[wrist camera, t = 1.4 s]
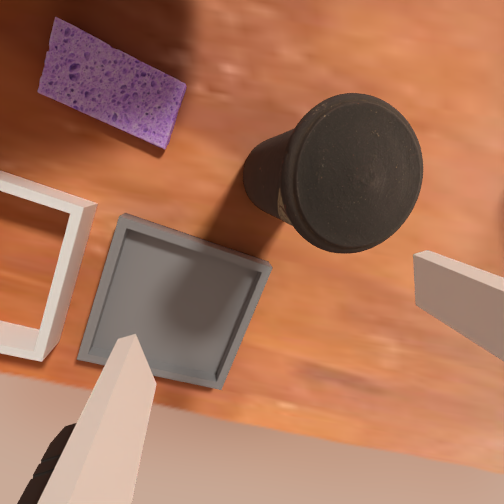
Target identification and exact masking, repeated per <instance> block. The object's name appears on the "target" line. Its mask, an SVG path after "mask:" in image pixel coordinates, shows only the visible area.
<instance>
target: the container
mask: <svg viewBox="0 0 504 504" xmlns="http://www.w3.org/2000/svg"><path fill="white" fill-rule="evenodd" d="M422 178H423V159H422V152H421V148H420V144H419V141H418V139H417V137H416V134H415V132H414V131H413V129H412V127H411V126H410V124H409V123H408V121H407V120H406V119H405V118H404V116H403V115H402V114H401V113H400V112H398V111H397V110H396V109H395V108H394V107H392V106H391V105H390V104H388V103H387V102H385V101H383V100H381V99H379V98H376V97H374V96H370V95H366V94H358V93H347V94H340V95H336V96H333V97H330V98H328V99H326V100H324V101H322V102H321V103H319V104H318V105H316V106H315V107H314V108H312V109H311V110H310V111H309V112H308V113H307V114H306V115H305V116H304V117H303V118H302V119H301V120H300V122H299V123H298V124H297V126H296V127H295V128H294V129H292V130H290V131H288V132H285V133H283V134H280V135H278V136H275V137H273V138H270V139H268V140H266V141H264V142H262V143H260V144H259V145H258V146H256V147H255V148H254V149H253V150H252V151H251V153H250V154H249V156H248V158H247V160H246V163H245V166H244V171H243V182H244V187H245V190H246V193H247V195H248V197H249V198H250V200H251V201H252V202H253V203H254V204H255V205H256V206H257V207H258V208H260V209H261V210H263V211H265V212H267V213H269V214H271V215H273V216H275V217H277V218H279V219H281V220H282V221H284V222H286V223H288V224H290V225H292V226H294V228H295V229H296V231H297V232H298V233H299V234H300V235H301V236H302V237H303V238H304V239H305V240H307V241H308V242H309V243H311V244H312V245H314V246H316V247H318V248H320V249H322V250H325V251H329V252H333V253H356V252H361V251H364V250H367V249H370V248H373V247H375V246H377V245H378V244H380V243H382V242H384V241H385V240H386V239H388V238H389V237H390V236H391V235H393V234H394V233H395V232H396V231H397V230H398V229H399V228H400V227H401V225H402V224H403V223H404V222H405V220H406V219H407V218H408V216H409V215H410V213H411V211H412V210H413V208H414V206H415V203H416V201H417V199H418V196H419V193H420V189H421V185H422Z"/></svg>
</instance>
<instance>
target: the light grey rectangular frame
mask: <svg viewBox="0 0 504 504" xmlns="http://www.w3.org/2000/svg"><path fill="white" fill-rule="evenodd" d="M0 191H2V192H5V193H9V194H12V195H15V196H18V197H21V198H24V199H27V200H30V201H33V202H36V203H39V204H42V205H45V206H48V207H52V208H55V209H58V210H61V211H64V212H67V213H70V217H69V220H68V224H67V228H66V232H65V236H64V239H63V243H62V247H61V251H60V255H59V259H58V262H57V266H56V270H55V274H54V278H53V281H52V285H51V289H50V293H49V297H48V300H47V304H46V308H45V312H44V316H43V319H42V323H41V327H40V330H39V329H35V328H30V327H26V326H22V325H17V324H13V323H9V322H4V321H0V353H1V354H6V355H11V356H16V357H21V358H26V359H31V360H36V361H41V362H42V361H43V360H44V359H45V358H46V356H47V355H48V354H49V353H50V352H51V351H52V349H53V348H54V347H55V346H56V345H57V343H58V342H59V340H60V337H61V333H62V330H63V326H64V323H65V319H66V315H67V312H68V308H69V305H70V301H71V298H72V294H73V290H74V287H75V283H76V280H77V276H78V273H79V269H80V265H81V262H82V258H83V255H84V251H85V248H86V244H87V240H88V237H89V233H90V230H91V226H92V223H93V219H94V215H95V212H96V208H97V205H98V203H95V202H92V201H89V200H86V199H83V198H80V197H77V196H74V195H71V194H69V193H66V192H63V191H60V190H57V189H54V188H51V187H48V186H45V185H42V184H39V183H36V182H33V181H30V180H28V179H25V178H22V177H19V176H16V175H13V174H10V173H7V172H4V171H1V170H0Z"/></svg>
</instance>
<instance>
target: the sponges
mask: <svg viewBox="0 0 504 504" xmlns="http://www.w3.org/2000/svg"><path fill="white" fill-rule="evenodd" d="M44 63H45V67H44V68H43V72H42V76H41V78H40V82H39V88H38V93H40V94H42V95H44V96H47V97H49V98H51V99H54V100H56V101H58V102H61V103H63V104H65V105H67V106H69V107H72V108H74V109H76V110H78V111H81V112H83V113H85V114H87V115H89V116H91V117H94V118H96V119H98V120H100V121H102V122H105V123H107V124H109V125H112V126H113V127H115V128H118V129H120V130H122V131H125V132H127V133H129V134H131V135H134V136H136V137H138V138H140V139H143V140H145V141H147V142H149V143H151V144H153V145H155V146H157V147H160V148H163V149H166V147H167V145H168V144H169V141H170V137H171V133H172V131H173V128H174V125H175V122H176V118H177V114H178V110H179V108H180V106H181V102H182V99H183V97H184V94H185V91H186V88H187V87H186V84H185V83H183V82H181V81H180V80H178V79H176V78H174V77H172V76H169V75H168V74H165V73H164V72H162V71H160V70H158V69H156V68H154V67H151V66H150V65H148V64H145V63H144V62H141V61H139V60H137V59H136V58H134V57H132V56H130V55H128V54H127V53H124V52H122V51H120V50H119V49H115V48H113V47H111V46H110V45H109V44H107V43H105V42H103V41H102V40H100V39H98V38H96V37H94V36H92V35H91V34H89V33H86V32H85V31H83V30H81V29H79V28H78V27H76V26H74V25H72V24H70V23H67V22H66V21H64V20H62V19H60V18H58V17H55V20H54V24H53V28H52V32H51V36H50V40H49V51H47V53H46V59H45V61H44Z"/></svg>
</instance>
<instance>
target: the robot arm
mask: <svg viewBox="0 0 504 504" xmlns="http://www.w3.org/2000/svg"><path fill="white" fill-rule="evenodd" d="M413 262H414V282H415V302H416V305H417V306H418V307H420V308H421V309H423V310H424V311H426V312H427V313H429V314H431V315H432V316H434V317H435V318H437V319H438V320H440V321H441V322H443V323H445V324H446V325H448V326H449V327H451V328H452V329H454V330H456V331H457V332H459V333H460V334H462V335H463V336H465V337H466V338H468V339H470V340H471V341H473V342H474V343H476V344H477V345H479V346H481V347H482V348H484V349H485V350H487V351H488V352H490V353H491V354H493V355H495V356H496V357H498V358H499V359H501V360H502V361H504V278H503V277H500V276H498V275H495V274H492V273H489V272H487V271H484V270H481V269H478V268H476V267H473V266H470V265H467V264H465V263H462V262H459V261H456V260H454V259H451V258H448V257H445V256H443V255H440V254H437V253H434V252H432V251H429V250H426V251H423V252H419V253H416V254H413ZM155 389H156V382H155V379H154V377H153V374H152V372H151V369H150V367H149V365H148V362H147V360H146V357H145V355H144V353H143V350H142V348H141V345H140V343H139V340H138V338H137V336H136V334H133V335H130V336H126V337H123V338H119V339H118V340H117V342H116V344H115V346H114V348H113V350H112V352H111V354H110V356H109V358H108V360H107V362H106V364H105V366H104V368H103V370H102V372H101V374H100V377H99V379H98V381H97V383H96V385H95V387H94V389H93V391H92V393H91V395H90V397H89V399H88V401H87V403H86V405H85V407H84V409H83V411H82V413H81V416H80V417H79V419H78V422H77V423H75V424H72V425H68V426H66V427H64V428H63V430H62V431H61V432H60V433H59V434H58V435H57V436H56V438H55V439H54V440H53V441H52V442H51V443H50V445H49V447H48V449H47V451H46V453H45V454H44V456H43V458H42V460H41V464H39V465H38V467H37V469H36V471H35V472H34V474H33V479H31V480H30V482H29V484H28V485H27V487H26V489H25V491H24V493H23V494H22V496H21V498H20V500H19V502H18V503H17V504H132V499H133V493H134V489H135V483H136V480H137V475H138V470H139V464H140V460H141V455H142V451H143V446H144V441H145V437H146V431H147V427H148V422H149V417H150V412H151V408H152V403H153V398H154V393H155Z"/></svg>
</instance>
